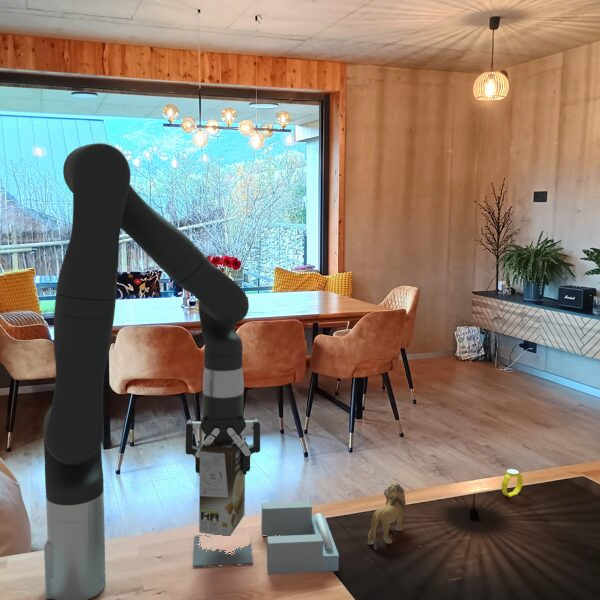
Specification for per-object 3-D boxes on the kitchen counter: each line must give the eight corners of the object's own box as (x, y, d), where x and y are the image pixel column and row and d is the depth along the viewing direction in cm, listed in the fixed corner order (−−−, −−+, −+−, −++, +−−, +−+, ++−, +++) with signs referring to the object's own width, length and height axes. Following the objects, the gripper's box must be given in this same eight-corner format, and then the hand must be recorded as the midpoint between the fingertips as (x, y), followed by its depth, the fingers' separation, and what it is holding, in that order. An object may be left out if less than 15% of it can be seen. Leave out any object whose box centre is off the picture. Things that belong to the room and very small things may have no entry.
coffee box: (231, 537, 119) (231, 454, 117) (198, 533, 120) (198, 450, 118) (245, 514, 128) (246, 436, 126) (214, 511, 129) (214, 433, 127)
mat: (192, 567, 119) (192, 565, 119) (194, 537, 129) (194, 535, 129) (252, 564, 120) (252, 562, 120) (249, 535, 131) (249, 533, 131)
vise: (267, 574, 117) (268, 543, 116) (261, 530, 133) (261, 503, 132) (338, 570, 119) (339, 540, 118) (323, 528, 134) (324, 500, 134)
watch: (508, 501, 150) (508, 477, 149) (498, 496, 152) (499, 472, 151) (525, 493, 153) (525, 470, 152) (515, 489, 155) (516, 466, 154)
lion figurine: (383, 517, 140) (385, 477, 139) (408, 522, 138) (410, 482, 137) (363, 549, 127) (364, 505, 125) (389, 555, 125) (391, 511, 123)
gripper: (183, 396, 116) (183, 483, 118) (263, 395, 117) (262, 480, 120) (185, 385, 123) (185, 467, 125) (260, 384, 125) (259, 464, 127)
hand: (223, 473), depth 123 cm, fingers closed on coffee box, 7 cm apart
